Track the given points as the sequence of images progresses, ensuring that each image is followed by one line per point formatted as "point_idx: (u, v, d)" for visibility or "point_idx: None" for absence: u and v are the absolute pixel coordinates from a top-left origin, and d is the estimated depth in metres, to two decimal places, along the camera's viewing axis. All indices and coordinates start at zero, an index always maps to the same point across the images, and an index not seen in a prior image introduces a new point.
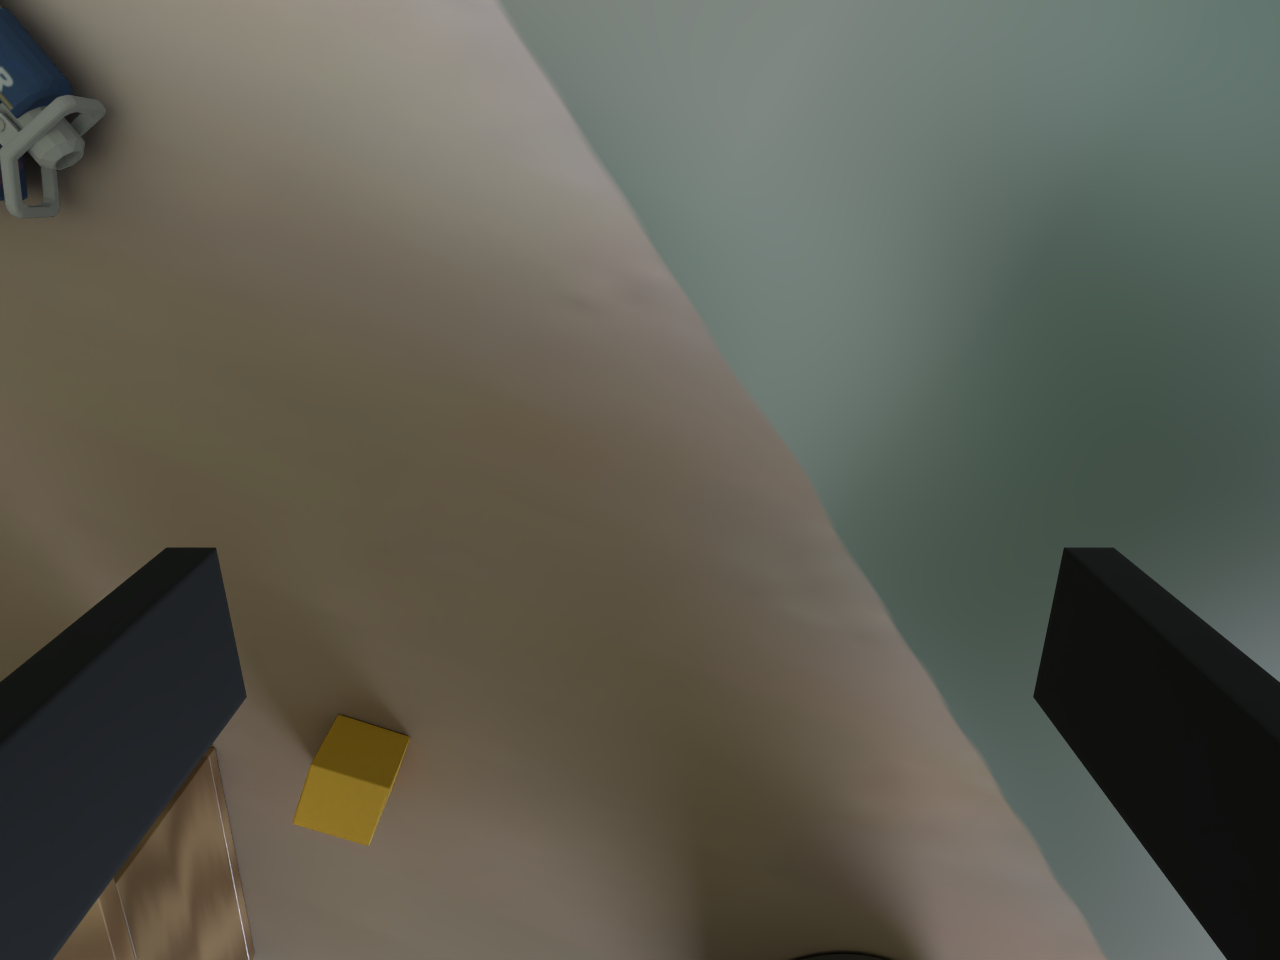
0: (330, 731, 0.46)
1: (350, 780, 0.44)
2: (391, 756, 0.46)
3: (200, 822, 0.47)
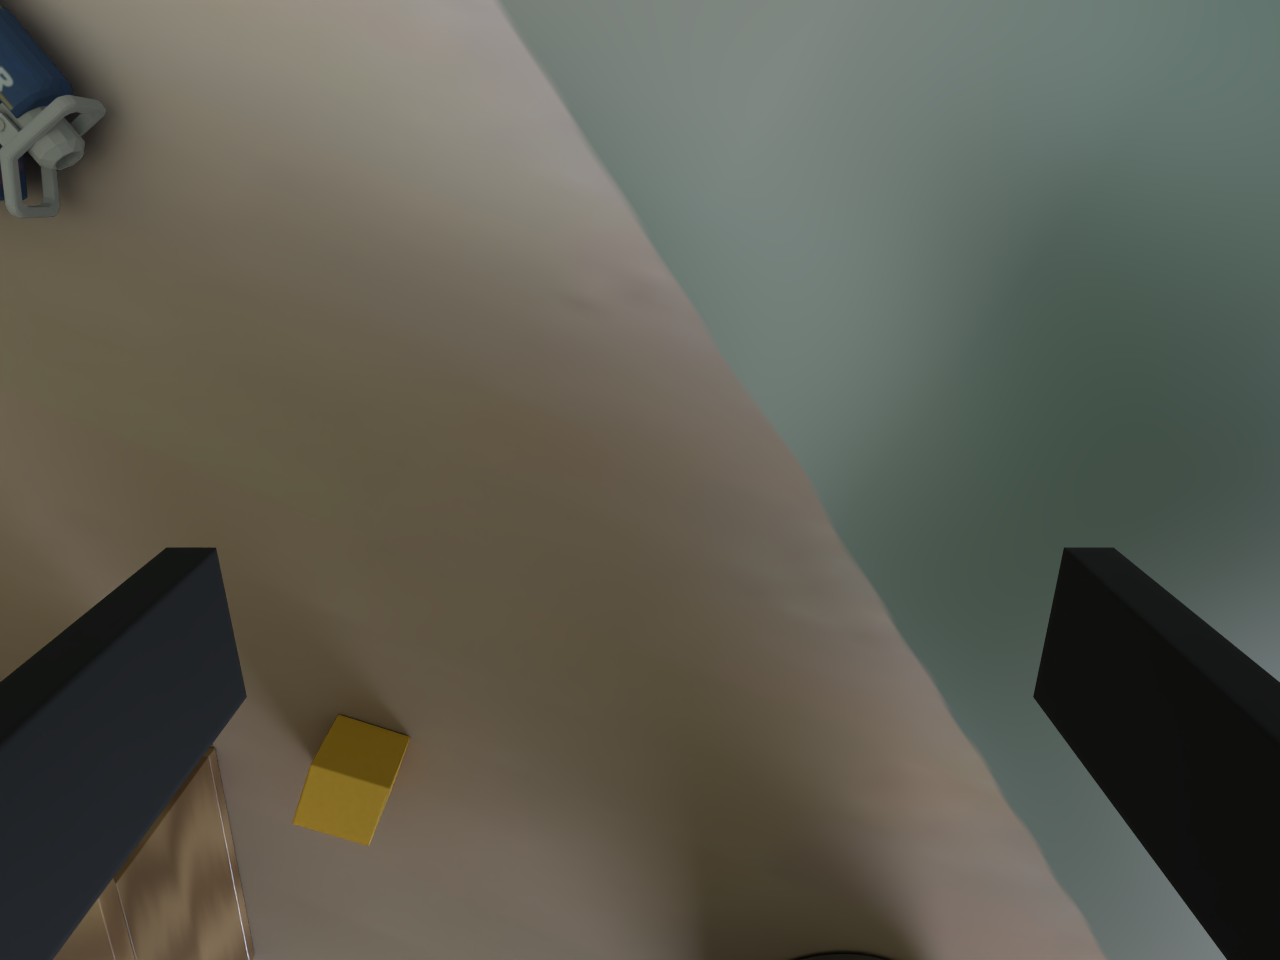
0: (330, 731, 0.46)
1: (350, 780, 0.44)
2: (391, 756, 0.46)
3: (200, 822, 0.47)
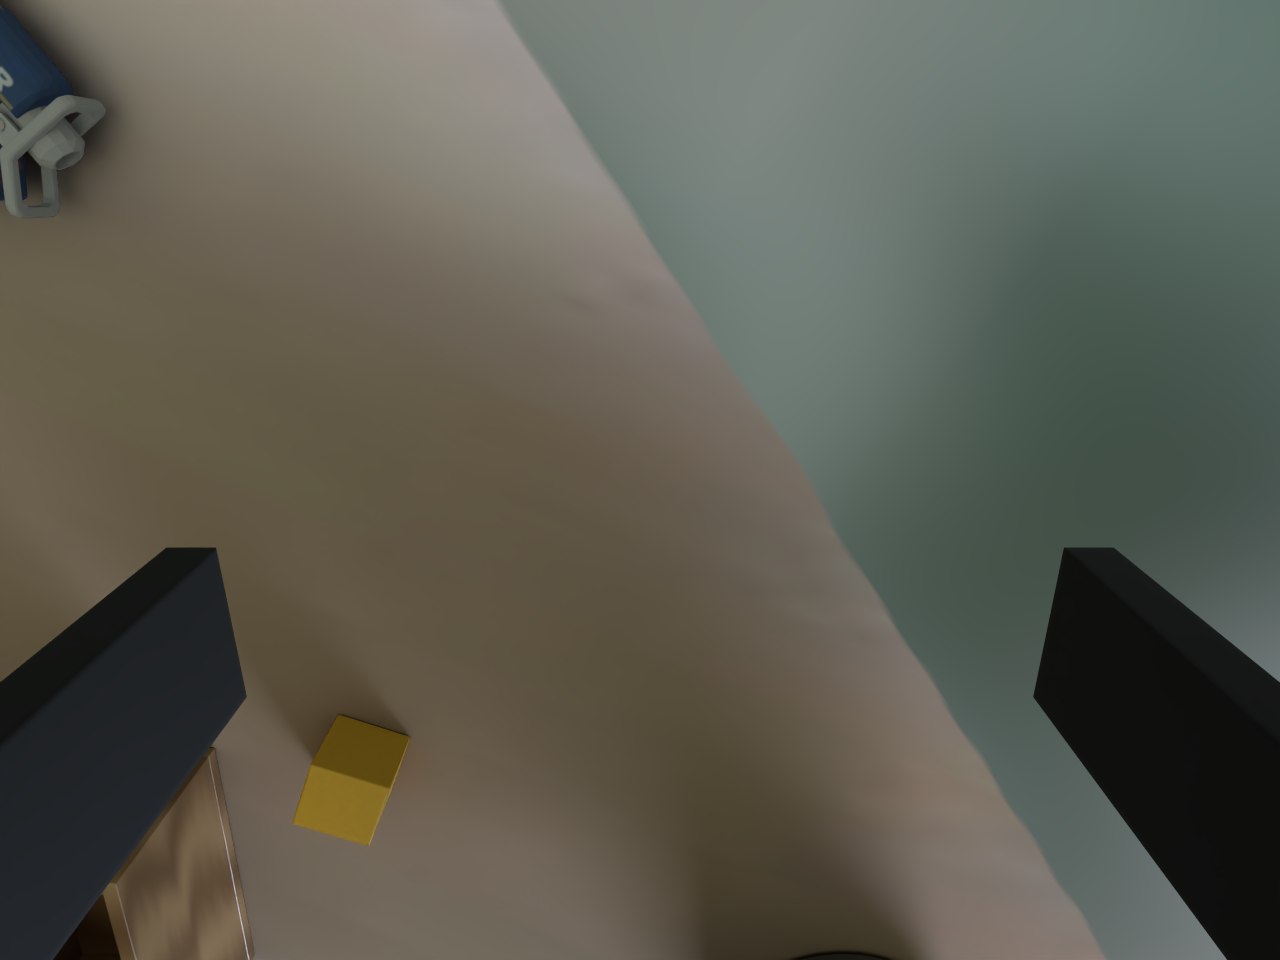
0: (330, 731, 0.46)
1: (350, 780, 0.44)
2: (391, 756, 0.46)
3: (200, 822, 0.47)
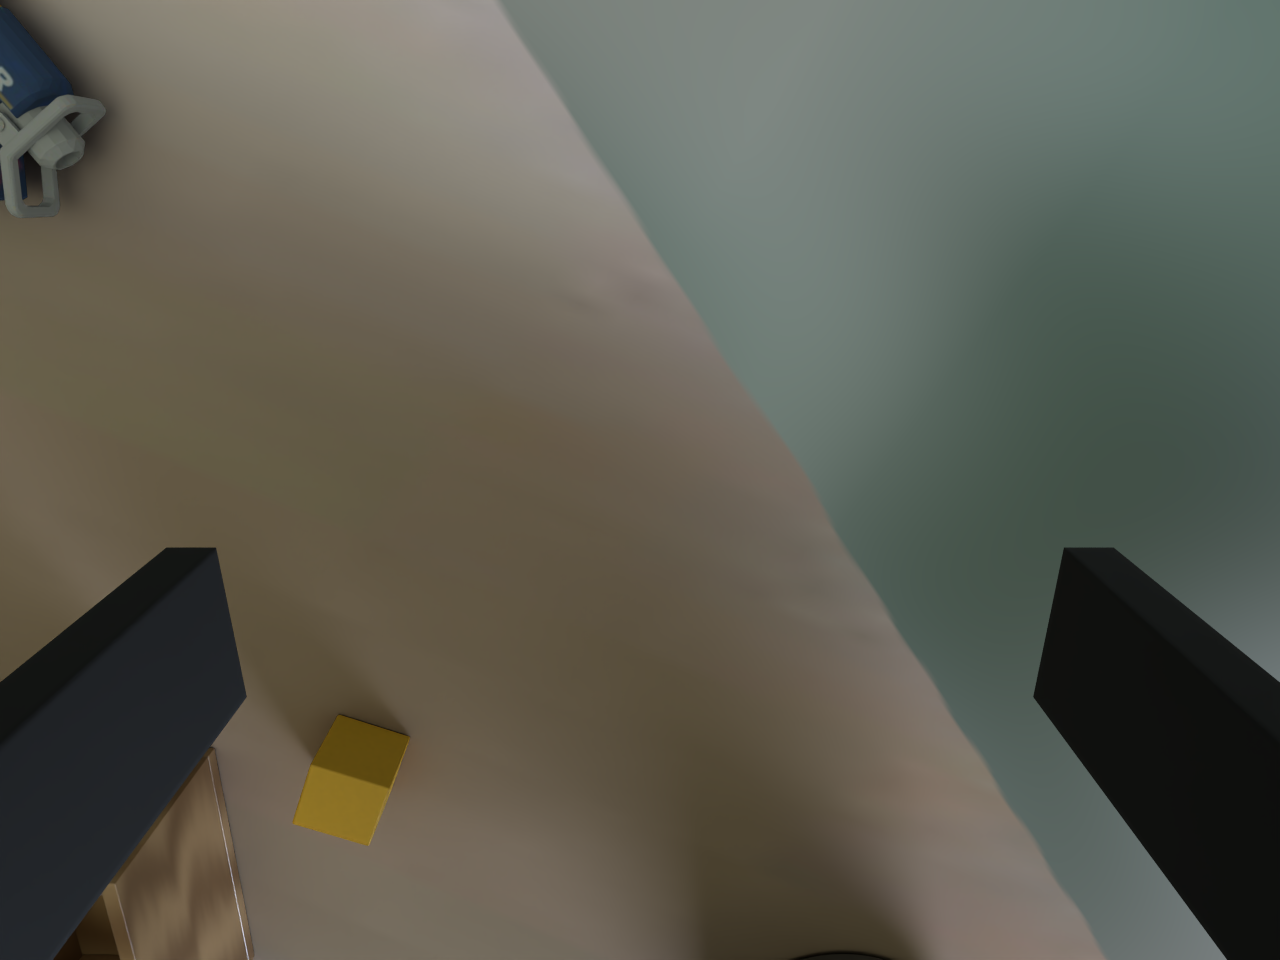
0: (330, 731, 0.46)
1: (350, 780, 0.44)
2: (391, 756, 0.46)
3: (199, 822, 0.47)
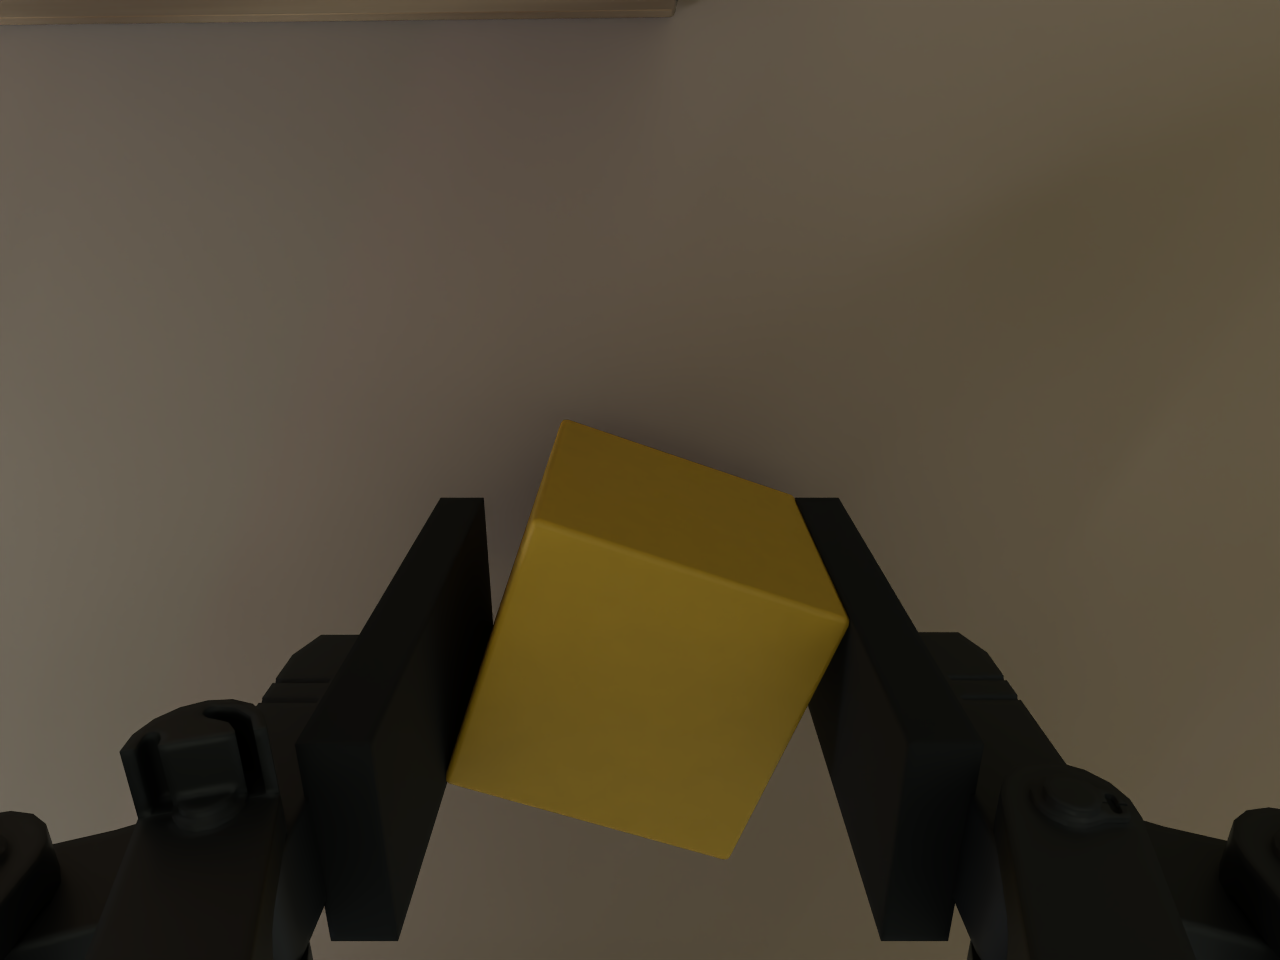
0: None
1: (769, 750, 0.11)
2: None
3: None
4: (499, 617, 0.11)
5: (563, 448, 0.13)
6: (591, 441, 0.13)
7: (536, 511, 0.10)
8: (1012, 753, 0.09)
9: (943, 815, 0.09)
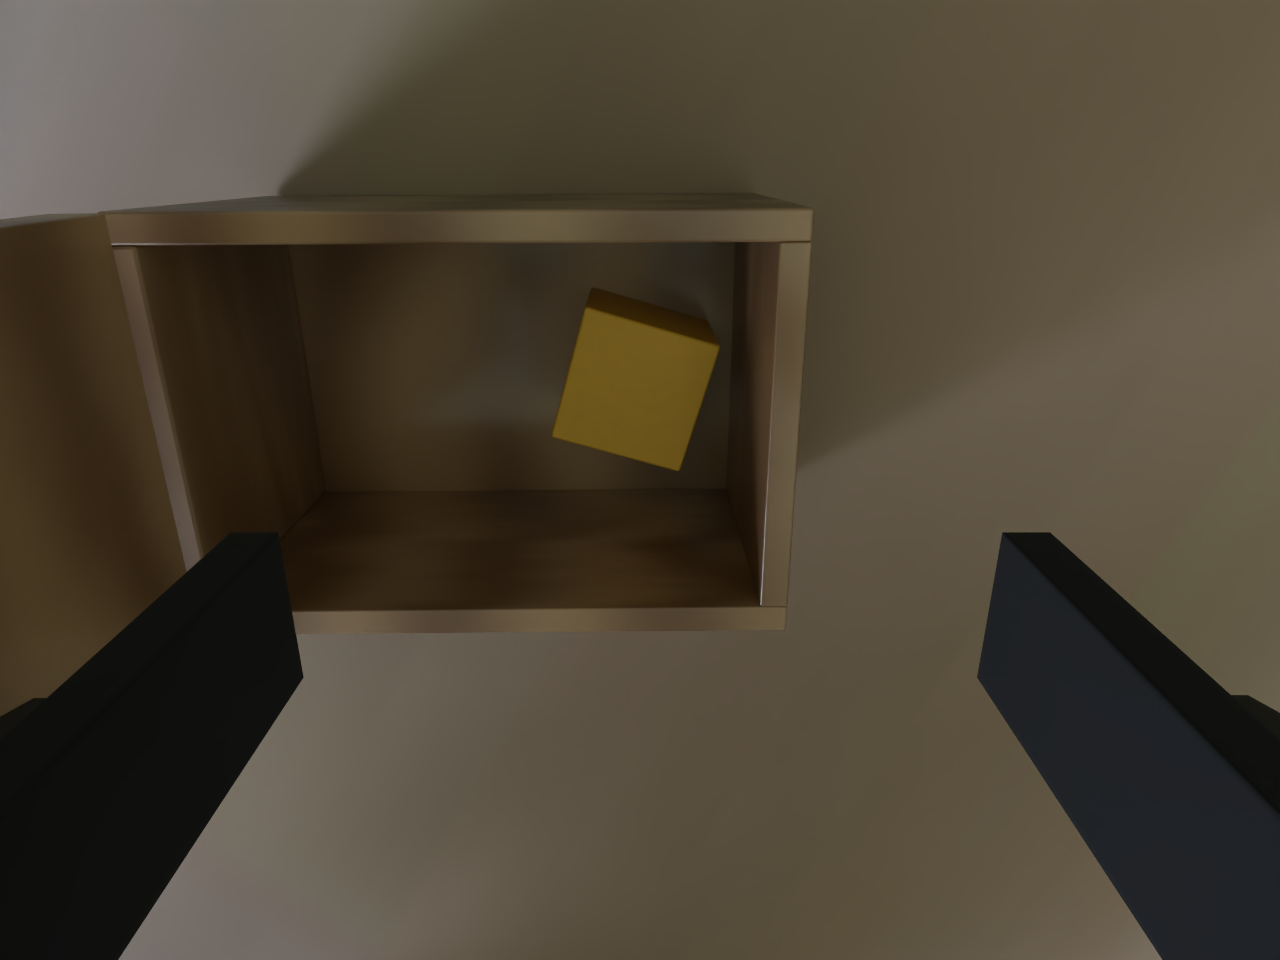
0: (712, 331, 0.28)
1: (692, 411, 0.26)
2: None
3: None
4: (573, 353, 0.25)
5: (593, 294, 0.27)
6: (606, 293, 0.28)
7: (586, 306, 0.25)
8: None
9: None
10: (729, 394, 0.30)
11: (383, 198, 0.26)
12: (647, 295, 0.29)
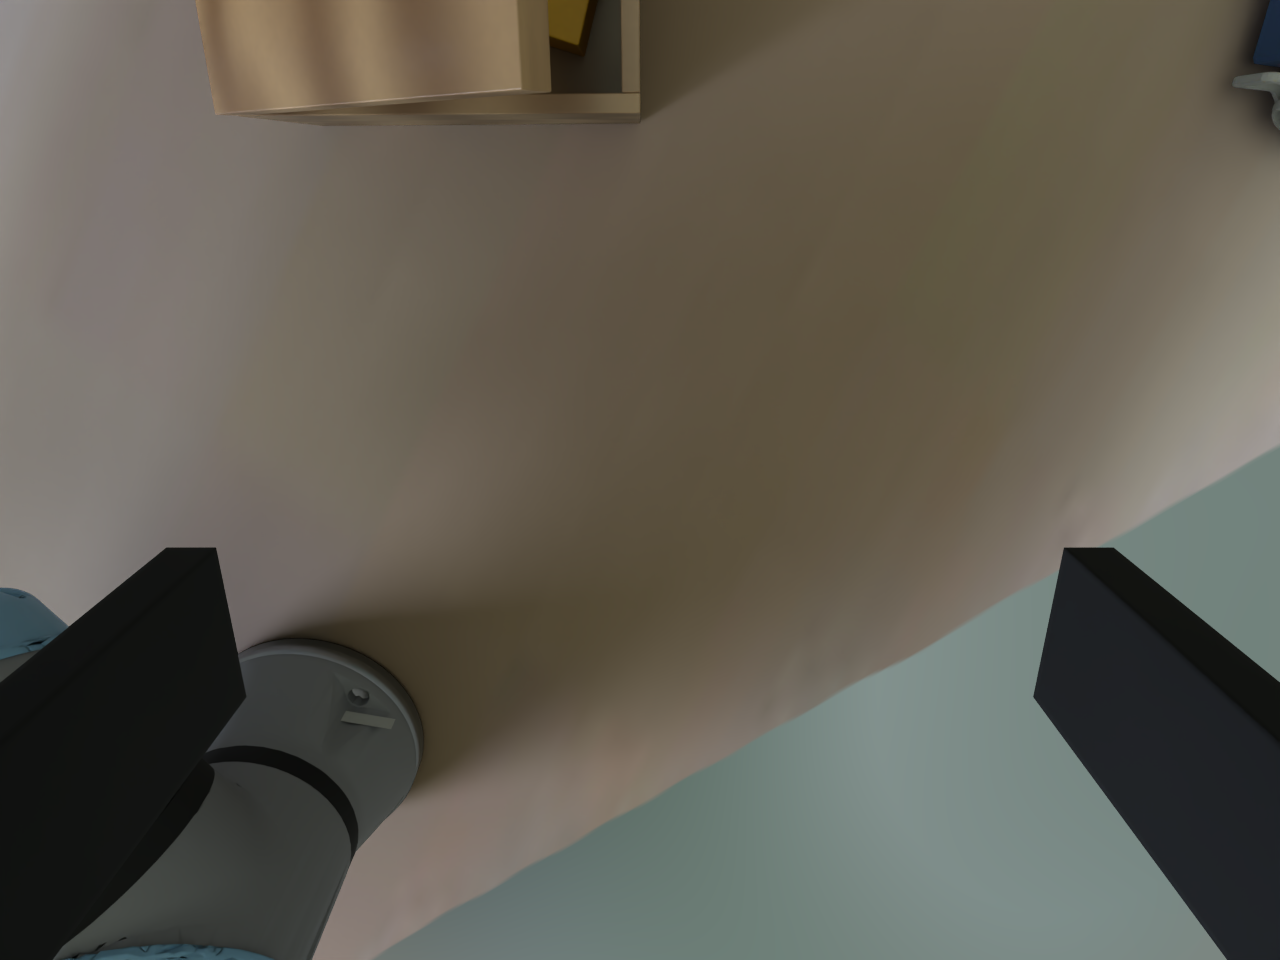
0: None
1: None
2: (585, 39, 0.39)
3: (579, 121, 0.41)
4: None
5: None
6: None
7: None
8: None
9: None
10: None
11: None
12: None
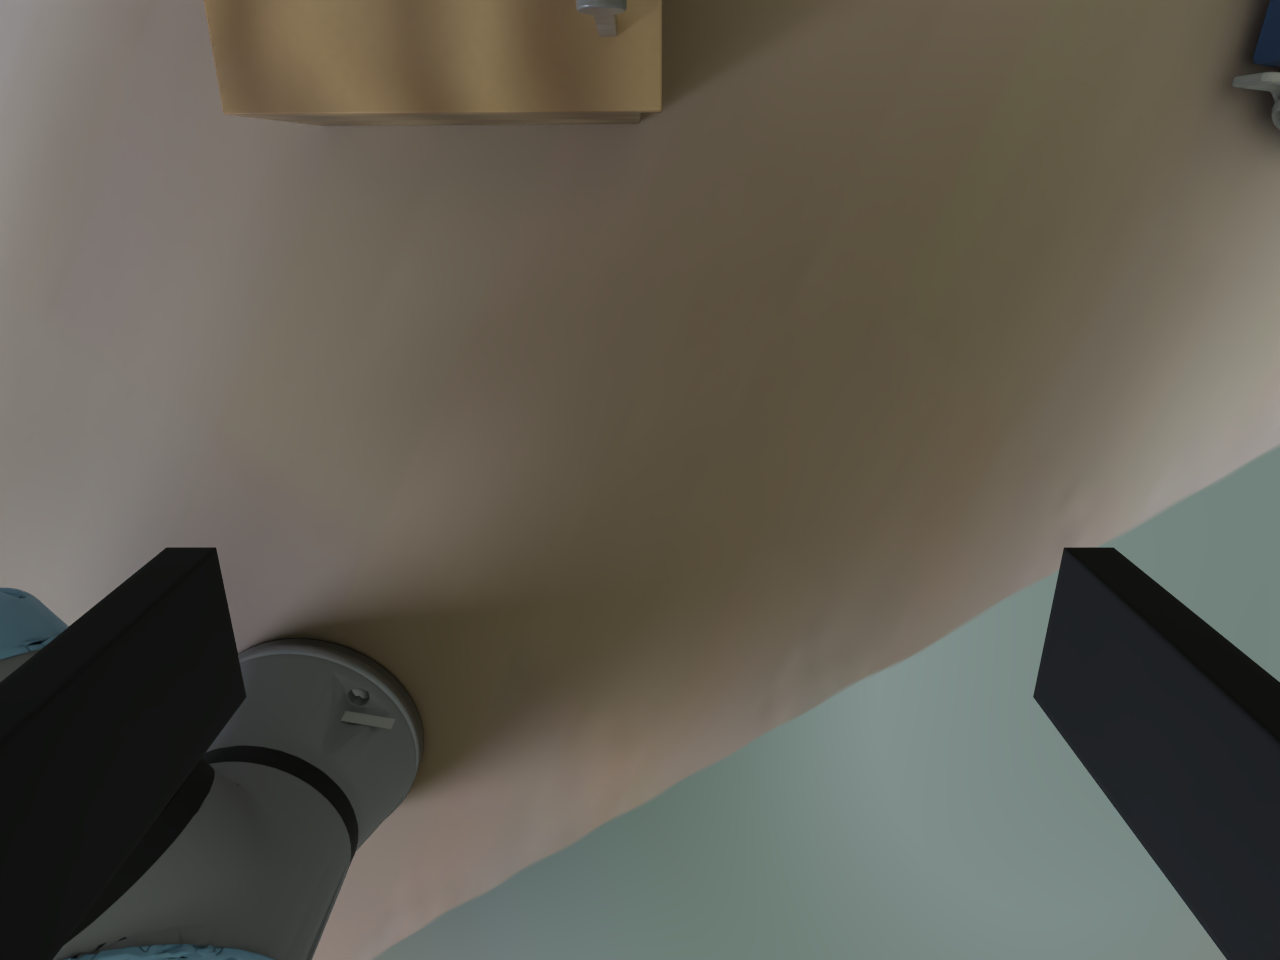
0: None
1: None
2: None
3: (579, 121, 0.41)
4: None
5: None
6: None
7: None
8: None
9: None
10: None
11: None
12: None
